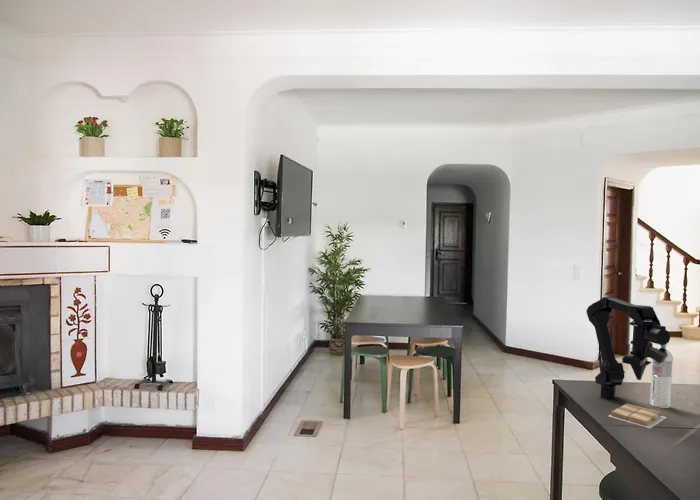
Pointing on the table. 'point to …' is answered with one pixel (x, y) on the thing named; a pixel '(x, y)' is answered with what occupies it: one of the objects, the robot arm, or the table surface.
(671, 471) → the table surface
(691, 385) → the table surface
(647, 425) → the board
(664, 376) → the water bottle
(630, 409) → the laid plank
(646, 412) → the raised plank
